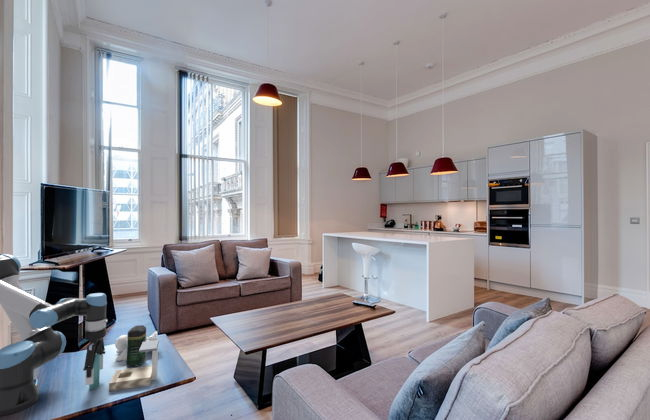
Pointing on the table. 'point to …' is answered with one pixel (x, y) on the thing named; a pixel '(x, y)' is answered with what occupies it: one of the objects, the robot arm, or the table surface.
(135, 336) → the coffee jar
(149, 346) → the light grey angular piece
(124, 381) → the socket block
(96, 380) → the peg
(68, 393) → the table surface
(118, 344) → the cherub figurine
